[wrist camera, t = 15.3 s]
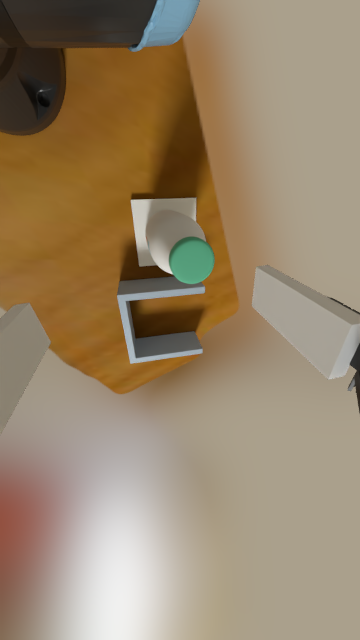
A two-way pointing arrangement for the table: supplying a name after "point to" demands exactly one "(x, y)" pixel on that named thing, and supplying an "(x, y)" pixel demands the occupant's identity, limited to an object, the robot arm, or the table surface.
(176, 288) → the grey u-shaped piece
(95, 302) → the table surface
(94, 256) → the table surface
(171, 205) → the tile
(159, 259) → the milk bottle
